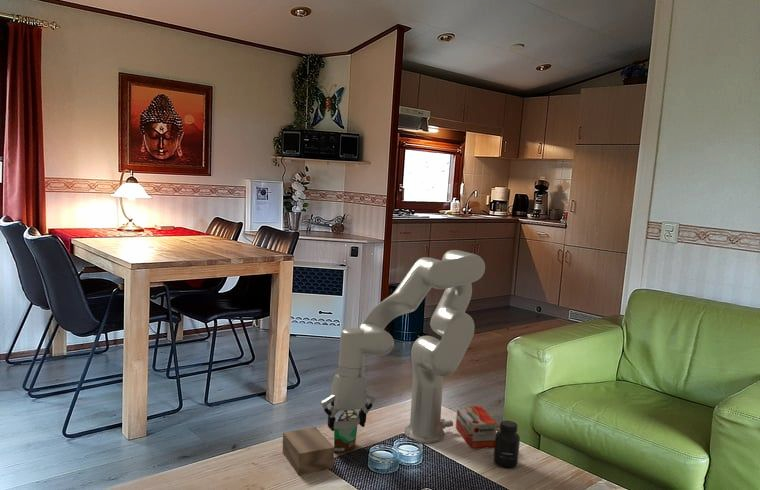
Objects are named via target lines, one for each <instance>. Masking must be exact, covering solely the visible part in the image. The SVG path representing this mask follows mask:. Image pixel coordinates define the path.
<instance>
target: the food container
mask: <svg viewBox="0 0 760 490" xmlns="http://www.w3.org/2000/svg"><path fill="white" fill-rule="evenodd" d="M338 417H339V418H338V419H337V420H335V421H334V431H333V433H334V434H333V435H334V436H333V441H334V442H333V447H334V454H348V453H350V452H352V451H354V449H355V447H356V440H357V431H358V426H359V425H360V424H359V423H360V417H359V411H357V409H353V410H344V411H343V412H342V413H340V416H338Z"/></svg>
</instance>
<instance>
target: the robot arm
mask: <svg viewBox="0 0 760 490" xmlns="http://www.w3.org/2000/svg"><path fill="white" fill-rule="evenodd" d="M485 270H486V263H485V261H484V260H483V258H482V257H481V256H480V255H478V254H475V253H473V252H472V253H471V252H467V251H463V250H458V249H451V250H448V251H446V252H445V253H444V254H443V256H442V258H441V260H440V259H436V258H433V257H428V256H427V257H426V256H425V257H424V256H423V257H420V258H418V259H417V260H416V261H415V263H414V264H413V265H412V266H411V268H410V269H409V270H408V272H407V273H406V275H404V277H403V279H402V280H401V282H400V283H399V284H398V286H397V287H396V288H395V290H394V291H393V293H391V294H390V295H389V296H388V297H386V298H384V299H382V301H380V303H378V304H377V305H375V306H374V307H373V308H372V309H371V310H370V311H369V313H368V314H367V315H366V317H365V318H364V319H363V321H362V322H361V323H360V325H359V328H357V327H348V328H344V329H342V331H341V332H340V338H339V339H340V341H339V351H338V354H339V356H338V364H337V365H338V367H337V373H336V374H334V377H333V381H332V386H331V390H330V395H329V396H328V397H326V398H325V399H323V400H322V401H320V406H321V408H322V411H324V412H325V414H326V415H327V427H328V429H329V430H330V431H332V432H334V421H337V420H336V417H335V416H336V415H337V414H338V412H341V411H343V412H344V410H353V409H354V410H359V411H358V414H359V417H360V423H359V424H358V425H360V426H361V428H364V427H365V426H366V422H367V414H368V413H369V411H370V410H371V409H372V407H373V405H374V403H375V402H376V396H375V397H374V396H373V395H372V394H369V393H368V392H367V380H366V375H365V371H368V368H369V367H368V366H367V365H365V360H366V359H365V358H366V357H365V356H366V355H367V356H368V355H370V356H376V357H377V356H378V357H382V356H387V355H388V354H390V353H391V352H392V351H393V349H394V347H395V346H394V345H395V341H394V337H393V336H392V335H391V334H390V332H388V331H386V330H385V328H386V327H387V326H388V324H390V322H392V321H393V320H394V319H396V318H398V317H400V316H403V315H406V314H409V313H412V312H415V311H416V310H417V309H418V308H419V306H420V304H421V303H422V302H423V300H424V299H425V297H426V296H427V294H428V293H429V292H430V290H431V289H432V288H433V289H436V290H443V291H444V292H443V294H442V296H441V298H440V300H439V302H438V304H437V306H436V308H435V309H434V312H433V314H432V315H431V318H430V322H429V326H430V328H431V330H432V331H433V332H434V333H436V335H439V336H440V337H441V339H438V338H436V337H434V336H430V335H422V336H420V337H418V338H417V339H416V340H415V341H414V342H413V344H412V346H411V352H410V354H411V355H410V357H411V358H410V359H411V366H412V382H411V383H412V386H411V400H410V401H411V402H410V403H411V405H410V421H409V423H410V424H409V425H408V426H406V427H405V429H404V435H405V436H406V437H407V438H408V437H409V438H411V439H414V440H417V441H420V442H419V443H421V442H422V444H434V443H438V442H441V441H442V440H444V439H445V431H444V429H446V428H450V427H453V426H454V422H453V420H446V419H445V418H442V417H441V416H442V400H443V386H444V385H443V383H444V377H445V378H446V377H449V376H451V375H452V374H454V373H455V371H456V370H457V369H458V367H459V366H460V363H461V362H462V360H463V358H464V356H465V354H466V352H467V350H468V348H469V346H470V344H471V342H472V340H473V337H474V335H475V322H474V321H475V320H474V319H473V318H472V317H471V315H470V314H468V313H466V310H467V308H468V307H469V304H470V301H471V298H472V295H473V294H472V293H473V286H472V285H473V284H472V283H474V282H477V281H479V280H480V279H481V278H482V277H483V276H484V274H485ZM367 400H368V401H367ZM328 405H330V407H328ZM409 438H408V439H409ZM411 439H410V440H411Z"/></svg>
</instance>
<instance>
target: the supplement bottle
mask: <svg viewBox="0 0 760 490" xmlns="http://www.w3.org/2000/svg"><path fill="white" fill-rule="evenodd" d="M499 425H500V426H499V430H496V439H495V448H494V449H493V450H494V451H493V462H494V464H495V465H497V467H500V468H502V469H508V470H509V469H515V468H517V466H518V462H519V453H520V442H521V437H520V434H519V433H518V424H517V423H516V422H515V421H511V420H502V421H500V424H499Z"/></svg>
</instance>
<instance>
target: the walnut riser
mask: <svg viewBox="0 0 760 490" xmlns="http://www.w3.org/2000/svg"><path fill="white" fill-rule="evenodd" d="M282 454H283V455H284V457H285V458H286V460H287V461H288V462H289V464H290V465H291V466H292V468H293V470H294V471H295V472H296V474H297V475H298V476H301V475H307V474H312V473H317V472H321V471H327V470H331V469H334V463H335V462H334V460H335V453H334V445H332V443H331V442H330V441H328V439H327V438H326V436H325V435H323V433H322V432H321V431H320V430H319V429H318V428H317V427H316V426H315V427H310V428H302V429H298V430H297V429H296V430H292V431H291V430H290V431H284V432H282Z"/></svg>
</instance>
